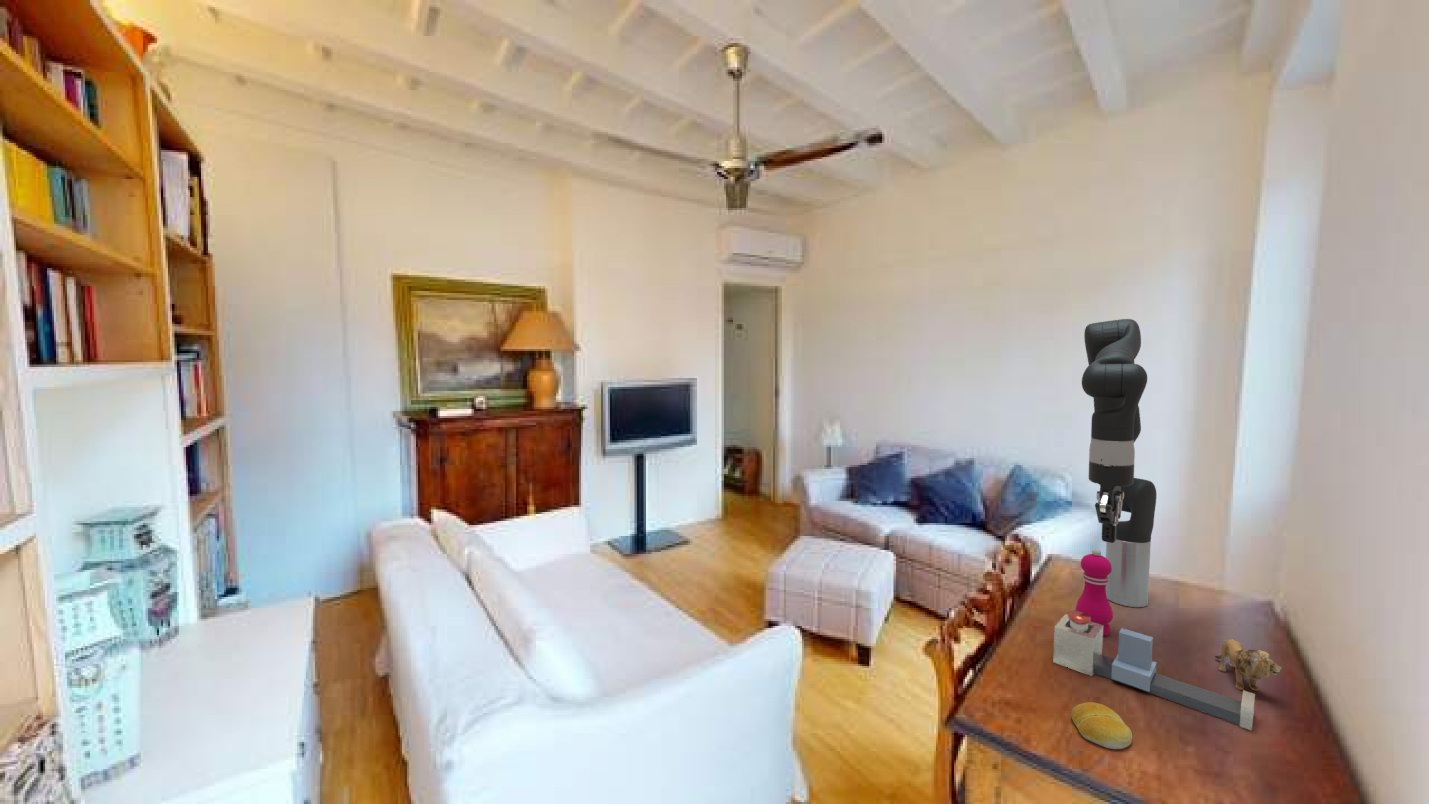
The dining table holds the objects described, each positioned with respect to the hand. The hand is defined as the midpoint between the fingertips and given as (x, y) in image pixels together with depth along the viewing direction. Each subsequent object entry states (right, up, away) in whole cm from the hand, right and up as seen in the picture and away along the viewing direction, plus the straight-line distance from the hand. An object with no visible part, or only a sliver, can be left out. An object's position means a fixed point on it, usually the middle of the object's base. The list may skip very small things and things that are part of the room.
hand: (1108, 541), depth 111 cm
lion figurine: (+23, -27, -5) cm, 36 cm away
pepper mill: (+8, -26, +16) cm, 31 cm away
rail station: (+3, -27, -6) cm, 28 cm away
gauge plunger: (-5, -22, +2) cm, 23 cm away
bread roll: (-15, -29, -18) cm, 37 cm away
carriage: (+2, -27, -4) cm, 28 cm away
